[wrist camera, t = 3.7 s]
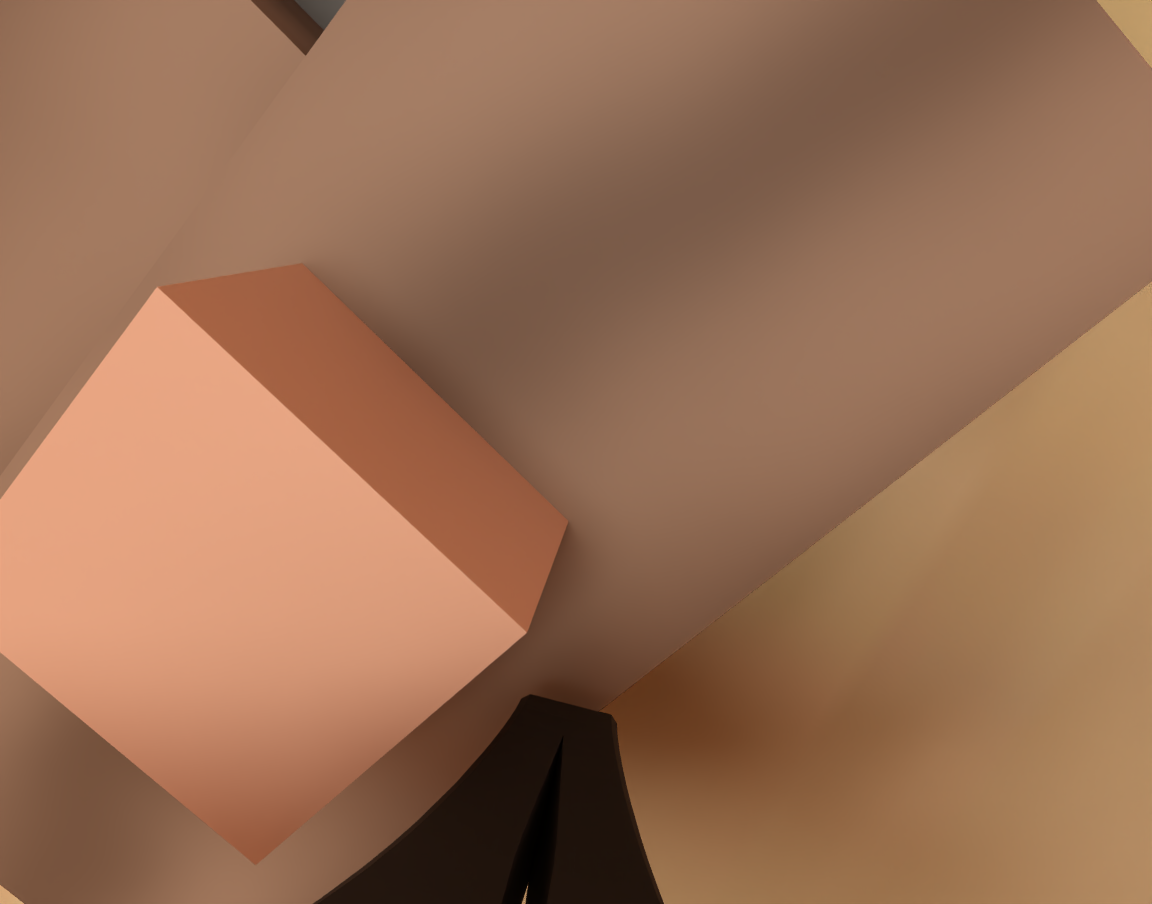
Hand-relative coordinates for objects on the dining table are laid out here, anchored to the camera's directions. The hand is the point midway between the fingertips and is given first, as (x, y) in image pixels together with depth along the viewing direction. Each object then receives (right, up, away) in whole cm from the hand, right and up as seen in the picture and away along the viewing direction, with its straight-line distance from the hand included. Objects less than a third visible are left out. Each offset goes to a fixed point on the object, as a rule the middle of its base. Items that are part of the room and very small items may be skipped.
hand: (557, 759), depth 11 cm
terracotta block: (-3, +4, 0) cm, 5 cm away
